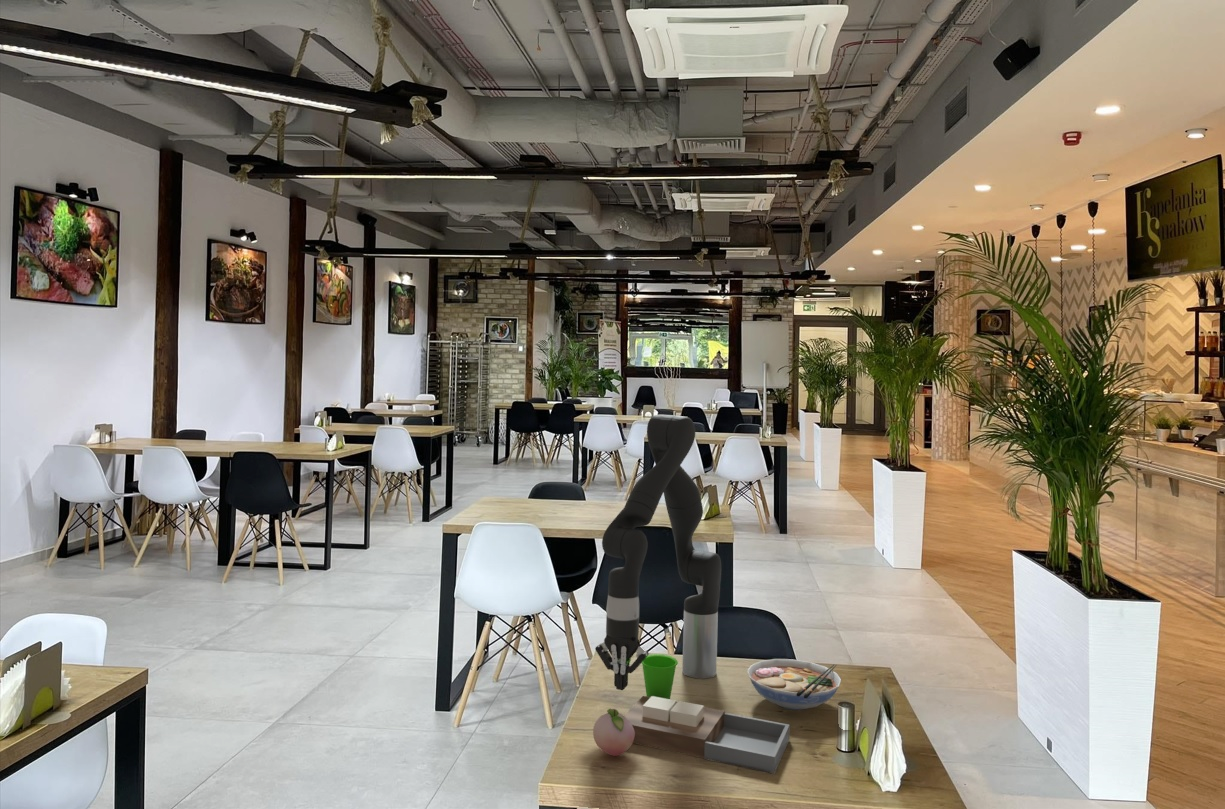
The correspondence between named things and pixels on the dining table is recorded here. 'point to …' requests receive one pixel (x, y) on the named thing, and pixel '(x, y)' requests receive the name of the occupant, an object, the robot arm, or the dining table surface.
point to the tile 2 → (687, 713)
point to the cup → (659, 675)
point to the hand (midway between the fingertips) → (620, 688)
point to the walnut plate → (675, 731)
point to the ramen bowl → (794, 682)
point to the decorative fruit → (613, 733)
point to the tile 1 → (658, 708)
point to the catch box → (749, 743)
